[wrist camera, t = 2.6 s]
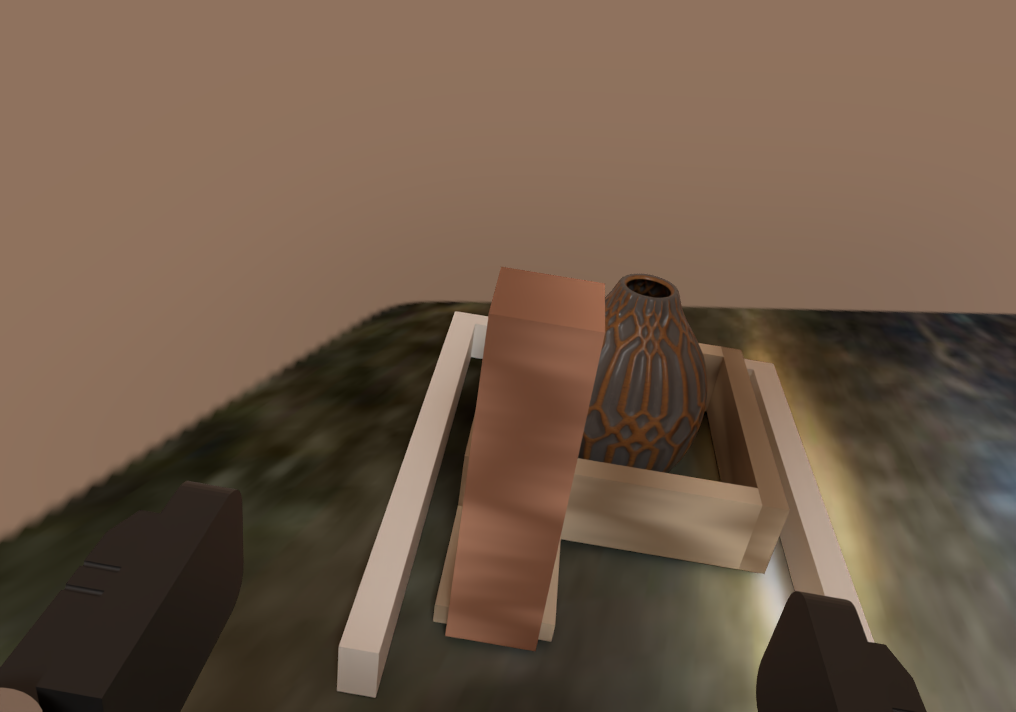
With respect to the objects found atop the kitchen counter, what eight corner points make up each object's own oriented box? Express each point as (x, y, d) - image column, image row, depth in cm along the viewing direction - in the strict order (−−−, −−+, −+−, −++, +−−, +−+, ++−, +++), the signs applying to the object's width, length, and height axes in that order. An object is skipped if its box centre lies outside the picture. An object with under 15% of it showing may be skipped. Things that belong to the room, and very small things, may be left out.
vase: (528, 409, 40) (558, 241, 35) (668, 423, 40) (714, 260, 36) (534, 504, 34) (570, 316, 29) (697, 519, 34) (757, 337, 30)
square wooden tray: (723, 403, 42) (796, 176, 36) (793, 695, 27) (938, 387, 21) (492, 365, 42) (525, 133, 36) (430, 633, 27) (469, 310, 21)
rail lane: (762, 395, 44) (773, 363, 43) (886, 786, 25) (911, 745, 24) (451, 344, 44) (455, 311, 43) (337, 691, 25) (338, 646, 24)
